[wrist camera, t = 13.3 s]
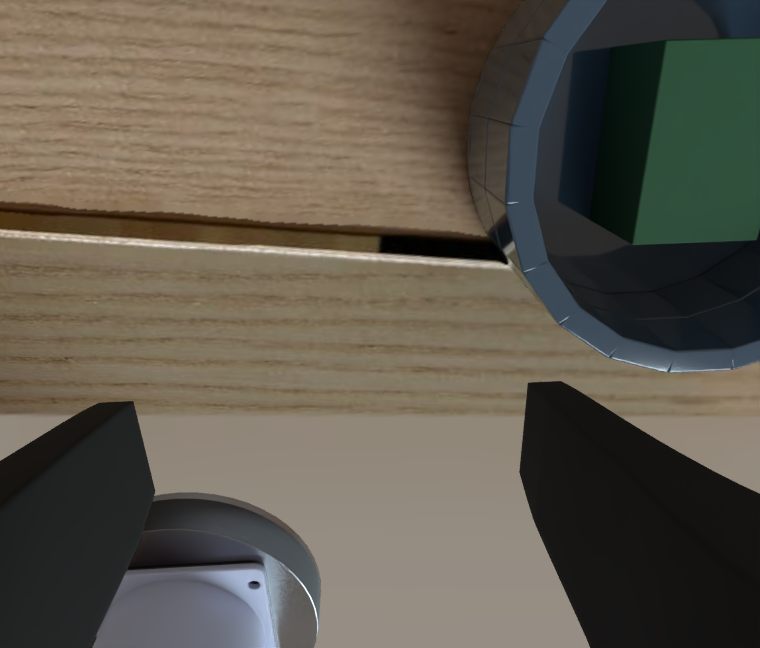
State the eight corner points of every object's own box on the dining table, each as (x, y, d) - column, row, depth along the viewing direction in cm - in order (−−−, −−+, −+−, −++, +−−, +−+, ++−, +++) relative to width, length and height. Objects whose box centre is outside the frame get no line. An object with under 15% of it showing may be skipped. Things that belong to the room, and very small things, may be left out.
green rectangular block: (695, 216, 18) (757, 240, 15) (588, 220, 18) (632, 245, 15) (730, 43, 16) (810, 35, 13) (610, 46, 16) (666, 39, 13)
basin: (774, 297, 20) (901, 362, 15) (460, 311, 19) (493, 382, 15) (883, -87, 15) (1112, -161, 11) (473, -77, 15) (527, -148, 10)
